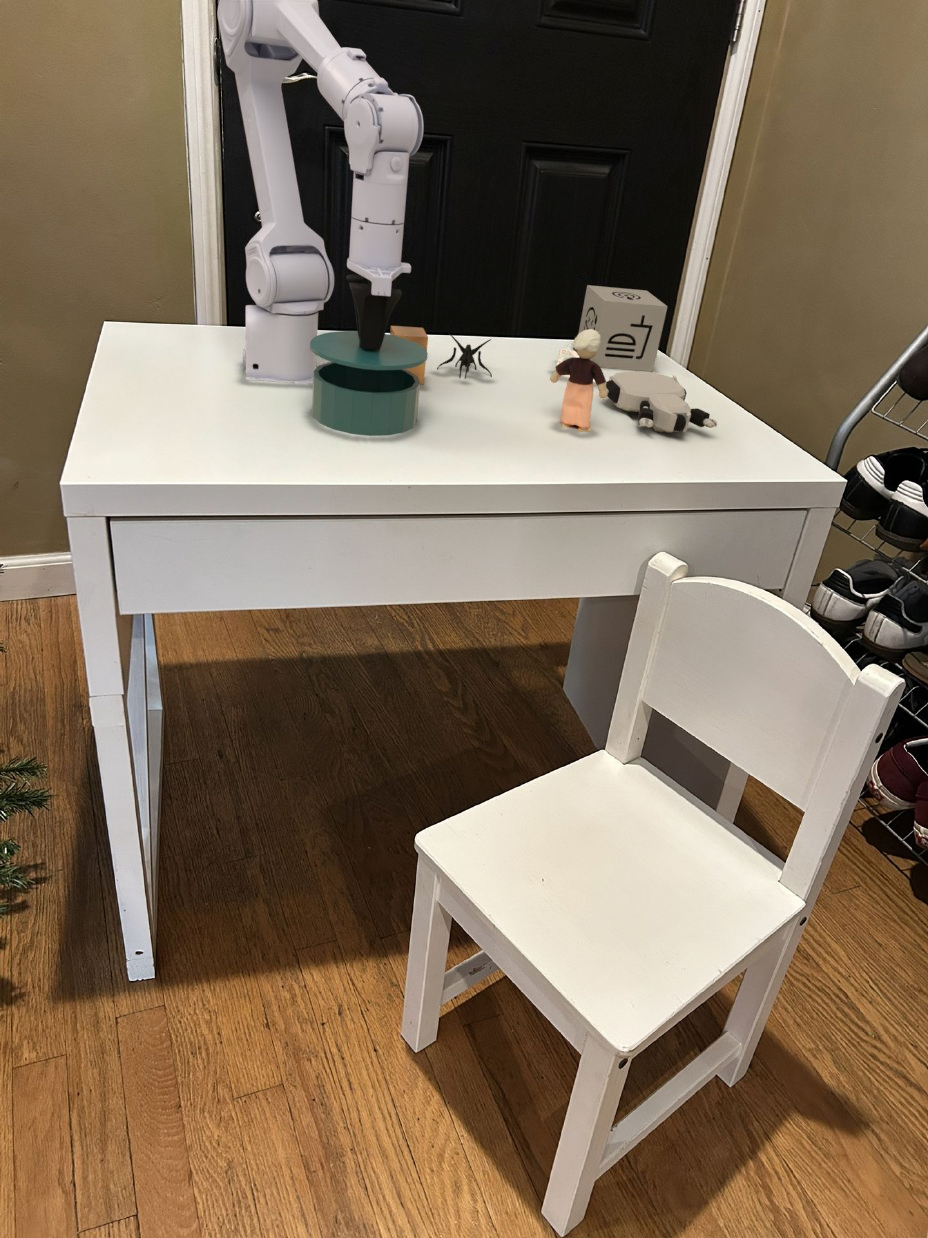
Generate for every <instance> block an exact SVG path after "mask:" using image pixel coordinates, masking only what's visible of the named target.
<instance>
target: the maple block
mask: <svg viewBox="0 0 928 1238" xmlns="http://www.w3.org/2000/svg"><path fill="white" fill-rule="evenodd" d="M389 329H390V332H389V335H393V336H397V337H401V338H404V339H407V340H410V341H412V342H415V343H417V344H419V345H421V346H422V347H423V348H425V349H426V351H427V352H428V342H429V336H428V334H427V333H426V330H425V329H424V327H416V326H415V327H414V326H402V325H390V328H389ZM426 362H427V361H426ZM426 362H425V363H423V364H421V365H419V366H417V367H413V368H408V369H405V370H408V371H410V372H411V373H413V374H414V375H416V376H417V377H418V379H419V381H420V386H424V385H425V383H424V382H425V373H426V365H427V364H426Z"/></svg>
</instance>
